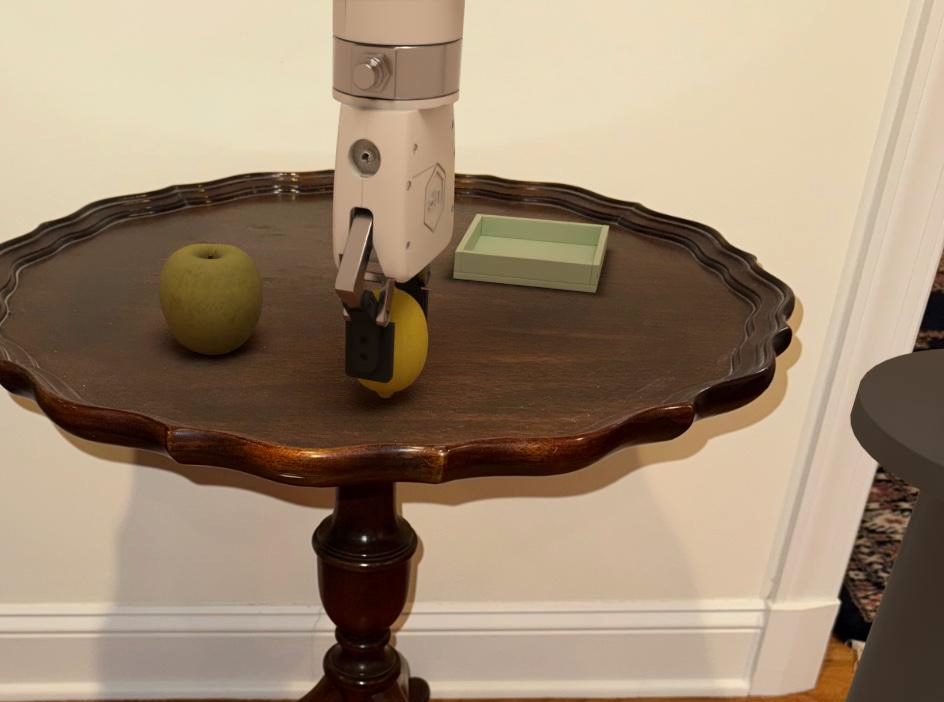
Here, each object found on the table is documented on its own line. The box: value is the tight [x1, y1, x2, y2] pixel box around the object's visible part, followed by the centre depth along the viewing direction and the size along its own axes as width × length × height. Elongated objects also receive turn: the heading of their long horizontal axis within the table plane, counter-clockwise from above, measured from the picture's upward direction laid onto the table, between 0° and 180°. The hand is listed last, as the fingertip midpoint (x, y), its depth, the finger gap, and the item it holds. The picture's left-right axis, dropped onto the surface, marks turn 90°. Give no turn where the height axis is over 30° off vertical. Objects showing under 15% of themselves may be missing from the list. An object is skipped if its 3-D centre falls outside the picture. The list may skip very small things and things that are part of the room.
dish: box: [452, 213, 610, 294], centre depth 100 cm, size 12×11×2 cm
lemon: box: [356, 287, 429, 399], centre depth 75 cm, size 6×6×8 cm
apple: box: [158, 243, 264, 356], centre depth 83 cm, size 8×8×7 cm
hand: (386, 357), depth 76 cm, fingers closed on lemon, 5 cm apart
